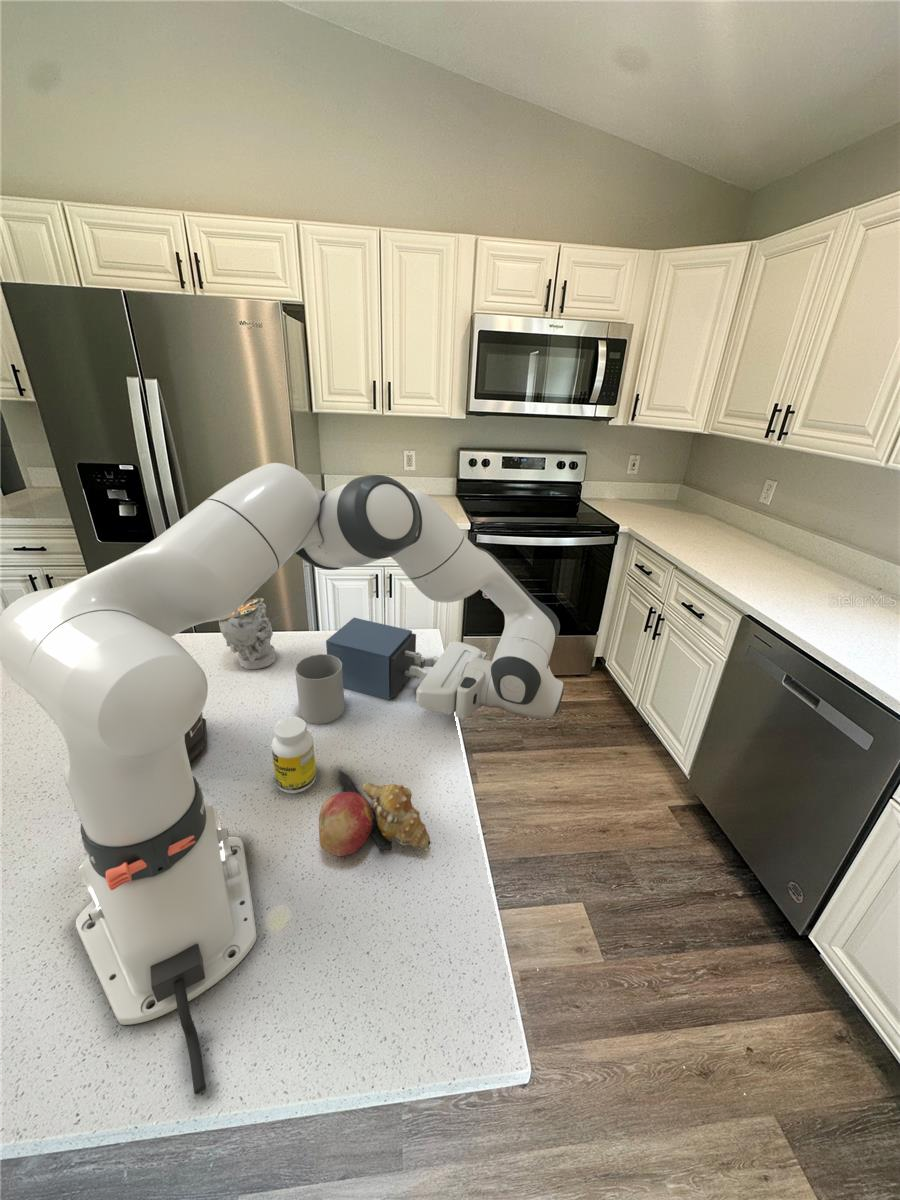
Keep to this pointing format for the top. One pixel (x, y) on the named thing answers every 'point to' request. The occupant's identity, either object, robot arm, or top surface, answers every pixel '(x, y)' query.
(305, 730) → the pill bottle
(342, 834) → the fruit
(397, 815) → the seashell
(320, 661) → the cup
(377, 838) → the knife
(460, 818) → the top surface
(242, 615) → the bust
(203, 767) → the top surface
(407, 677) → the drawer with handle
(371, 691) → the blue cabinet
